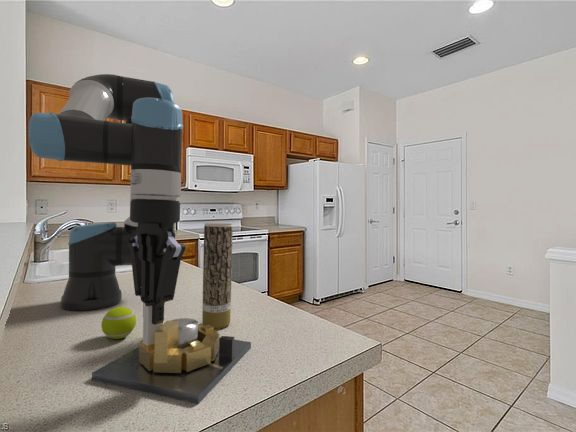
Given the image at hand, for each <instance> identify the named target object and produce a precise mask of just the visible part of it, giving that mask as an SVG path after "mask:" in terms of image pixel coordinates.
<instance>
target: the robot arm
mask: <svg viewBox="0 0 576 432" xmlns="http://www.w3.org/2000/svg"><path fill="white" fill-rule="evenodd" d="M182 111H183V110H182V108H181V107H180V106H179V105H178V103H176V102H175V99H174V94H173V92H172V89H171V87H170V86H168V85H167V84H164V83H160V82H156V81H152V80H145V79H139V78H133V77H127V76H121V75H119V74H111V73H104V74H94V75H90V76H86V77H84V78H81V79H79V80H78V81H76V82H74V83H73V85H72V86H71V87H70V89H69V93H68V100H67V102H66V103H65V105H64V106H63V107H62V109H61V110H60V111H59V113H58V114H56V113H55V112H54V113H53V112H48V113H47V112H35V113H33V114H32V115H31V116H30V119H29V121H28V141H29V146H30V148H31V151H32V153H33V155H34V156H35V157H38V158H40V159H46V160H55V161H58V162H63V161H64V162H66V161H67V162H77V163H94V164H108V165H120V166H130V175H129V178H128V179H129V181H130V190H129V191H130V196H129V198H130V202H129V217H127V218H126V219H125V220H124V223H123V226H118V225H117V223H116V222H115V221H110V222H109V221H108V222H99V223H91V224H84V225H83V224H81V225H77V226H73V227H72V228H71V229H70V231H69V237H68V238H69V239H68V242H67V245H68V278H67V279H68V280H67V282H66V285H65V287H64V291H63V294H62V296H61V298H60V308H61V309H63V310H67V311H89V310H90V311H91V310H99V309H103V308H104V309H105V308H108V307H112V306H114V305H117V304H119V303H120V302H122V296H123V295H122V290H121V289H120V285H119V281H118V278H117V275H116V267H121V266H123V267H124V266H131V269H132V280H133V289H134V295H135V296H136V297H140V300H141V301H140V302H141V303H143V305H142V308H143V309H142V310H143V311H142V318H143V319H142V322H143V323H142V324H143V325H142V340H143V343H144V344H146V345H150V344H152V343H155V331H156V330H158V329H159V328H160V327H161V326H162V325H163V324H164V321H165V304H166V302H170V301H173V300H174V299H175V293H176V287H177V283H178V282H177V281H178V277H179V271H180V268H181V265H180V264H181V261H182V258H183V255H184V253H185V251H186V244H184V243H179V242H178V241H177V240H176V232H175V227H174V226H175V224H177V223H179V222H180V220H181V202H180V200H177V199H178V198H180V197H181V195H182V146H183V145H182V142H183V129H184V124H183V112H182ZM106 119H111V120H118V121H124V122H117V121H110V120H106Z"/></svg>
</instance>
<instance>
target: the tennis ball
mask: <svg viewBox="0 0 576 432" xmlns="http://www.w3.org/2000/svg"><path fill="white" fill-rule="evenodd" d="M136 325H137V316H136V314H135V312H134V311H133V310H132V309H130V308H128V307H126V306H117V307H114V308H111V309H110V310H109V311H107V312H106V313H105V314H104V317H103V318H102V321H101V331H102V332H103V334H104V335H105V336H106V337H108V338H109V339H113V340H120V339H123V338H126V337H128V336H129V335H130V334H131V333H132V332H133V331H134V330H135V327H136Z"/></svg>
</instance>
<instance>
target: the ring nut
mask: <svg viewBox="0 0 576 432" xmlns="http://www.w3.org/2000/svg"><path fill="white" fill-rule="evenodd" d="M178 329H179V321H171V320H166V321H165V322H163V325H162V326H161V327H160V328H159V329H158V330H156V331H155V343H152V344H150V345H146V344H144V343H143V339H142V340H140V341H139V342H138V343H139V344H138V347H139V362H140V363H141V364H142V365H143V366H144V367H146V368H147V369H148V370H149V371H151V370H153V372H162V373H181V372H182V371H183V370H185V371H186V372H188V371H191V370H194V369H196V368H199V367H202V366H204V365H207V364H210V363H211V361H214V359H215V357H216V355H217V353H218V351H219V337H221V336H220V334H219V332H218V331H217V330H216V329H214V327H213V326H211V325H205V326H203V324H198V341H194V342H191V343H189V347H187V348H184V349H178Z"/></svg>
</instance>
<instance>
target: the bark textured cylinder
mask: <svg viewBox="0 0 576 432" xmlns="http://www.w3.org/2000/svg"><path fill="white" fill-rule="evenodd" d="M233 228H234V227H233V223H230V222H229V223H227V222H226V223H225V222H208V223H207V222H205V223H204V226H203V260H202V261H203V265H202V266H203V269H202V270H203V272H202V306H201V307H202V311H201V312H202V315H201V319H202V320H201V321H202V322H201V323H202V324H201V325H203V326H205V325H211V326H213V327H214V330H218V329H219V330H220V329H224V328H226V327H228V326H229V325H230V324H231V309H232V272H233V271H232V267H233V266H232V264H233V263H232V262H233V233H234V232H233Z"/></svg>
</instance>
